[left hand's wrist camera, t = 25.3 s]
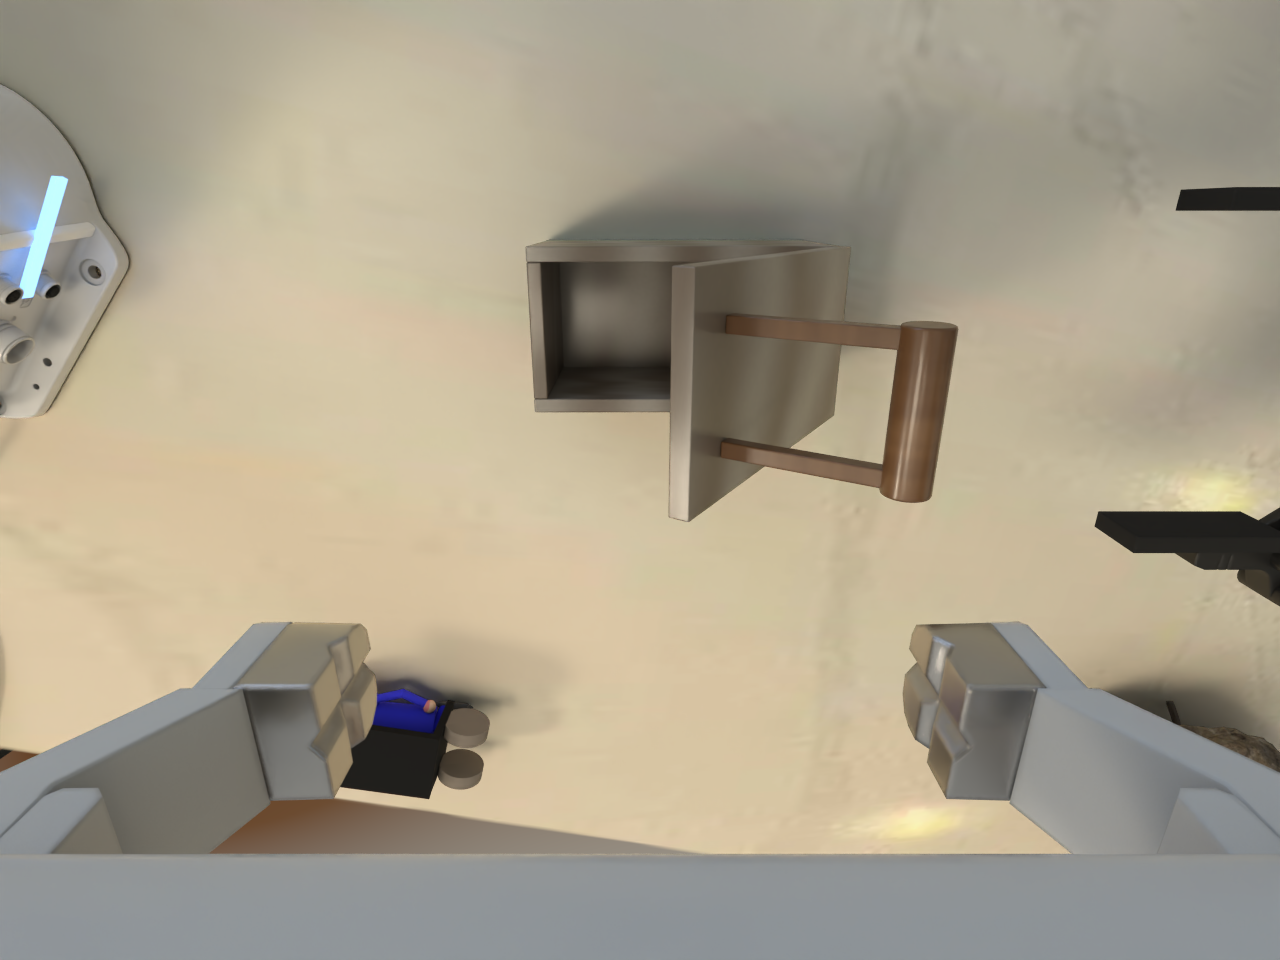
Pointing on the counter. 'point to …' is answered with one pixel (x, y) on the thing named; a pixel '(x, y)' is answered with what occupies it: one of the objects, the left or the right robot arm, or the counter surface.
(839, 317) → the lid
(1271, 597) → the right robot arm
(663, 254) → the chest
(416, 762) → the figurine character
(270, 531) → the counter surface
